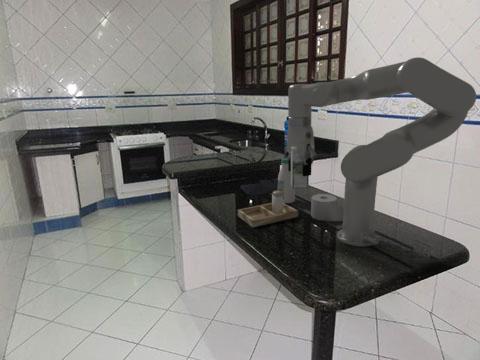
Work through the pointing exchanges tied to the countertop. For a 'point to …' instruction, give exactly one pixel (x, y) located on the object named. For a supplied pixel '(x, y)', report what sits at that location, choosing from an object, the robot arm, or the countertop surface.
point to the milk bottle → (285, 182)
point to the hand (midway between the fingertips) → (299, 172)
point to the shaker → (277, 202)
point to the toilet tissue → (326, 208)
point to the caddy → (265, 214)
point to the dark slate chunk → (261, 187)
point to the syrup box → (298, 170)
